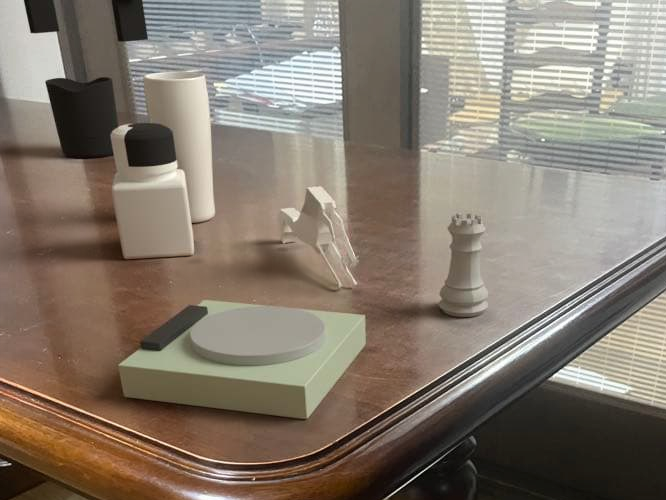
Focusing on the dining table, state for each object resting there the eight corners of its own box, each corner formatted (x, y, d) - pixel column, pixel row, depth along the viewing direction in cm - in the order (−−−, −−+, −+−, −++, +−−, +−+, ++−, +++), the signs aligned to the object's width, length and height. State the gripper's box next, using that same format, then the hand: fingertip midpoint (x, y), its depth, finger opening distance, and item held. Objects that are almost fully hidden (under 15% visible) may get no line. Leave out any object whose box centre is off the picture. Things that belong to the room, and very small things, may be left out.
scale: (123, 397, 63) (115, 354, 61) (207, 328, 74) (202, 289, 72) (307, 419, 60) (304, 375, 58) (366, 344, 71) (365, 305, 69)
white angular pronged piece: (349, 340, 88) (291, 229, 96) (362, 246, 79) (297, 132, 87) (332, 343, 87) (275, 230, 96) (343, 249, 78) (279, 133, 86)
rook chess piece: (496, 315, 77) (502, 221, 72) (449, 321, 75) (452, 225, 71) (476, 298, 80) (480, 208, 76) (430, 304, 79) (432, 212, 74)
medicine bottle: (193, 237, 97) (177, 118, 90) (194, 256, 91) (177, 130, 84) (126, 241, 95) (105, 120, 89) (123, 260, 90) (100, 133, 83)
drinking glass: (152, 217, 103) (130, 75, 95) (202, 208, 107) (185, 69, 99) (182, 229, 99) (161, 81, 91) (233, 218, 103) (217, 75, 94)
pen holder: (89, 162, 129) (75, 86, 123) (47, 154, 133) (31, 81, 128) (137, 151, 136) (125, 78, 130) (95, 144, 140) (82, 74, 134)
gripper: (171, -283, 66) (207, 40, 78) (-11, -247, 78) (45, 26, 90) (86, -301, 61) (139, 47, 73) (-93, -259, 74) (-23, 31, 86)
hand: (87, 36), depth 82 cm, fingers open, 13 cm apart
